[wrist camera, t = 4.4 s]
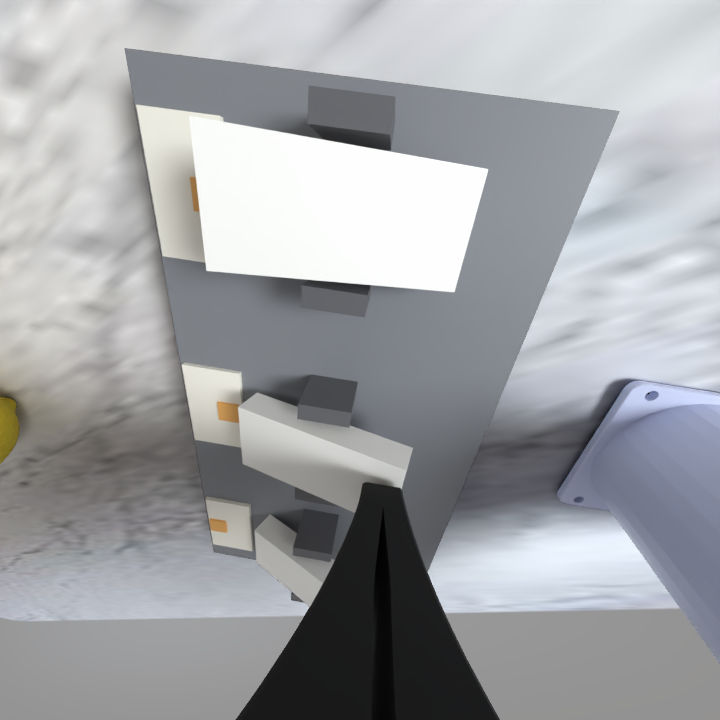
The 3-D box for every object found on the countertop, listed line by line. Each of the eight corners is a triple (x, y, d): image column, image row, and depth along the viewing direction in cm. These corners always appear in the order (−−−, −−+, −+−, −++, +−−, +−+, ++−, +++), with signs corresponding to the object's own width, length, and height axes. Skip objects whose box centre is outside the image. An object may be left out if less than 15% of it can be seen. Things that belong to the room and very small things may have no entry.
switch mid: (412, 447, 11) (405, 470, 10) (397, 503, 13) (389, 528, 12) (257, 392, 13) (237, 406, 12) (259, 446, 15) (242, 463, 14)
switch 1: (373, 588, 15) (362, 613, 14) (365, 619, 16) (354, 643, 15) (270, 514, 18) (254, 530, 17) (271, 545, 19) (256, 562, 18)
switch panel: (579, 128, 10) (691, 80, 6) (417, 558, 21) (422, 632, 18) (170, 75, 10) (44, 1, 7) (228, 524, 22) (194, 588, 18)
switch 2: (466, 172, 9) (488, 169, 8) (439, 282, 10) (454, 292, 9) (205, 126, 7) (189, 115, 6) (217, 261, 9) (206, 270, 8)
